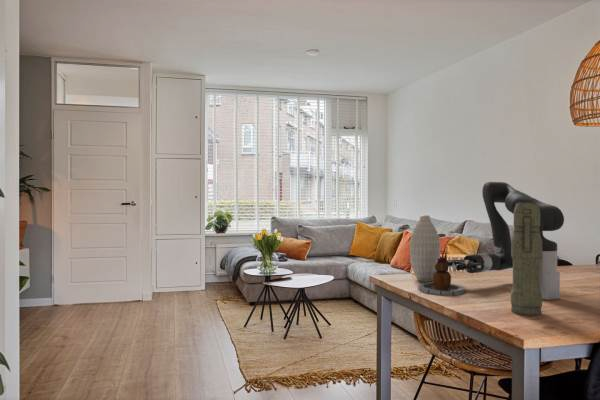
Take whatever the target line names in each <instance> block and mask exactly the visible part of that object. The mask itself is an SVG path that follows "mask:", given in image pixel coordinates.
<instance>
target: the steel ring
mask: <svg viewBox="0 0 600 400" xmlns="http://www.w3.org/2000/svg"><path fill="white" fill-rule="evenodd" d="M433 288H434V285H433V282H423V283H420V284H418V285H417V290H418V291H419V292H420V293H424V294H427V295H435V296H436V295H437V296H456V295H457V296H458V295H463V294H465V292H466V288H465V286H462V285H461V284H460V285H459V284H455V283H451V284H450V288H449V290H435V288H434V289H433Z"/></svg>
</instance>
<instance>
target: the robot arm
mask: <svg viewBox="0 0 600 400" xmlns="http://www.w3.org/2000/svg"><path fill="white" fill-rule="evenodd" d="M481 192H482V193H481V194H482V199H483V202H484V206H485V210H486V213H487V217H488V219H489V222H490V227H491V234H492V241H493V245H494V247H495V248H498V249H502V250H503V252H498V253H473V254H466V255H465V256H464V257H463V258H458V259H456V258H454V259H453V258H452V259H447V263H448V266H449V268H452V269H456V271H464V270H465V271H466V272H467V273H468V274H479V273H485V272H489V271H490V272H491V271H503V270H504V271H505V270H508V269H511V268H512V269H513V258H512V256H511V240H512V238H511V237H512V236H511V231H510V227H509V225H508V222H507V221H506V220H505V219H504V218H503V216H502V215H501V213H500V212H499V211H498V209H497V207H496V205H495V203H497V204H498V203H501V204H503V203H504V206H505V208H506V210H507V211H509V213H511V214H513V215H514V209H515V206H516V203H519V202H535V203H538V206H539V209H540V227H539V231H540V236H541V239H542V259H541V261H540V291H541V294H542V300H547V301H552V300H553V301H554V300H558V299H560V291H561V288H560V283H561V282H560V281H561V280H560V279H561V276H560V275H561V274H560V271H558V244H557V242H556V241H553V240H550V239H547V238H546V237H545V236H544V232H554V231H558V230H560V229H562V227H563V225H564V224H565V216H564V214H563V212H562V210H561V209H560V208H559V207H558V206H555V205H551V204H548V203H545V202H542V201H540V200H538V199H537V198H535V197H532V196H530V195H528V194H527V193H524V192H522V191H519V190H518V189H516V188H514V187H513V186H512V185H511V184H509V183H507V182H504V181H487V182H485V183H483V186H482V191H481Z"/></svg>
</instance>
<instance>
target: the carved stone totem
mask: <svg viewBox="0 0 600 400" xmlns="http://www.w3.org/2000/svg"><path fill="white" fill-rule="evenodd" d="M539 227H540V209H539V206H538V203H535V202H519V203H516V206H515V209H514V214H513V234H512V236H511V237H512V238H511V256H512V258H513V267H512V287H511V291H510V304H511V305H510V306H511V309H510V311H511V313H513V314H516V315H520V316H525V317H526V316H527V317H537V316H541V315H542V307H543V299H542V294H541V291H540V261H541V259H542V239H541V236H540V231H539Z"/></svg>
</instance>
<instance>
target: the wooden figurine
mask: <svg viewBox="0 0 600 400" xmlns="http://www.w3.org/2000/svg"><path fill="white" fill-rule="evenodd" d="M447 256H448V255H447V251H445V253H441V255H440V259H439V258H438V261H437V263H436V264H435V269H436V272H434V273H433V279H432V283H433V285H434V287H433V288H434V289H435V290H450V289H451V288H450V284H452V276H451V273H450V272H448V270H449V269H450V267H449V266H448V263H447V260H448V259H447V258H448V257H447Z"/></svg>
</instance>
